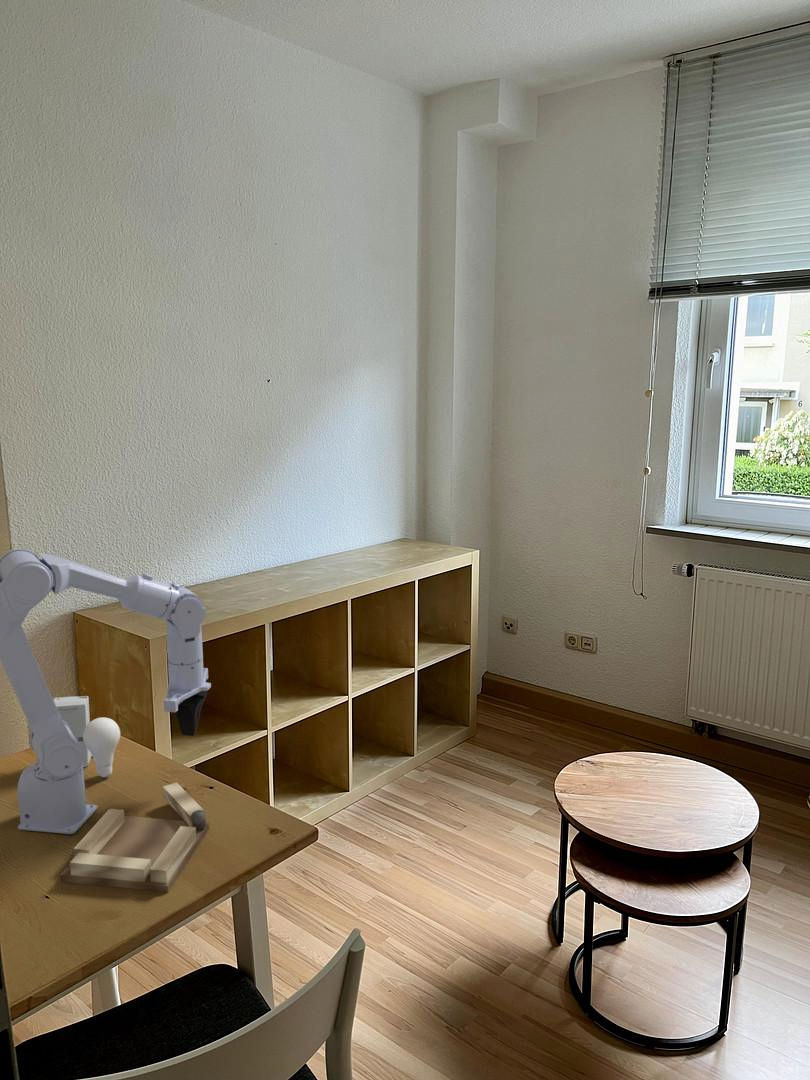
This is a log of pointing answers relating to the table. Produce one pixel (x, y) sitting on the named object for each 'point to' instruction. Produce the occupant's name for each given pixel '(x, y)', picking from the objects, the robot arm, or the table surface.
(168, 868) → the stool seat
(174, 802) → the hinged leg
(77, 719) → the skincare box
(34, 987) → the table surface
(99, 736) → the lightbulb
